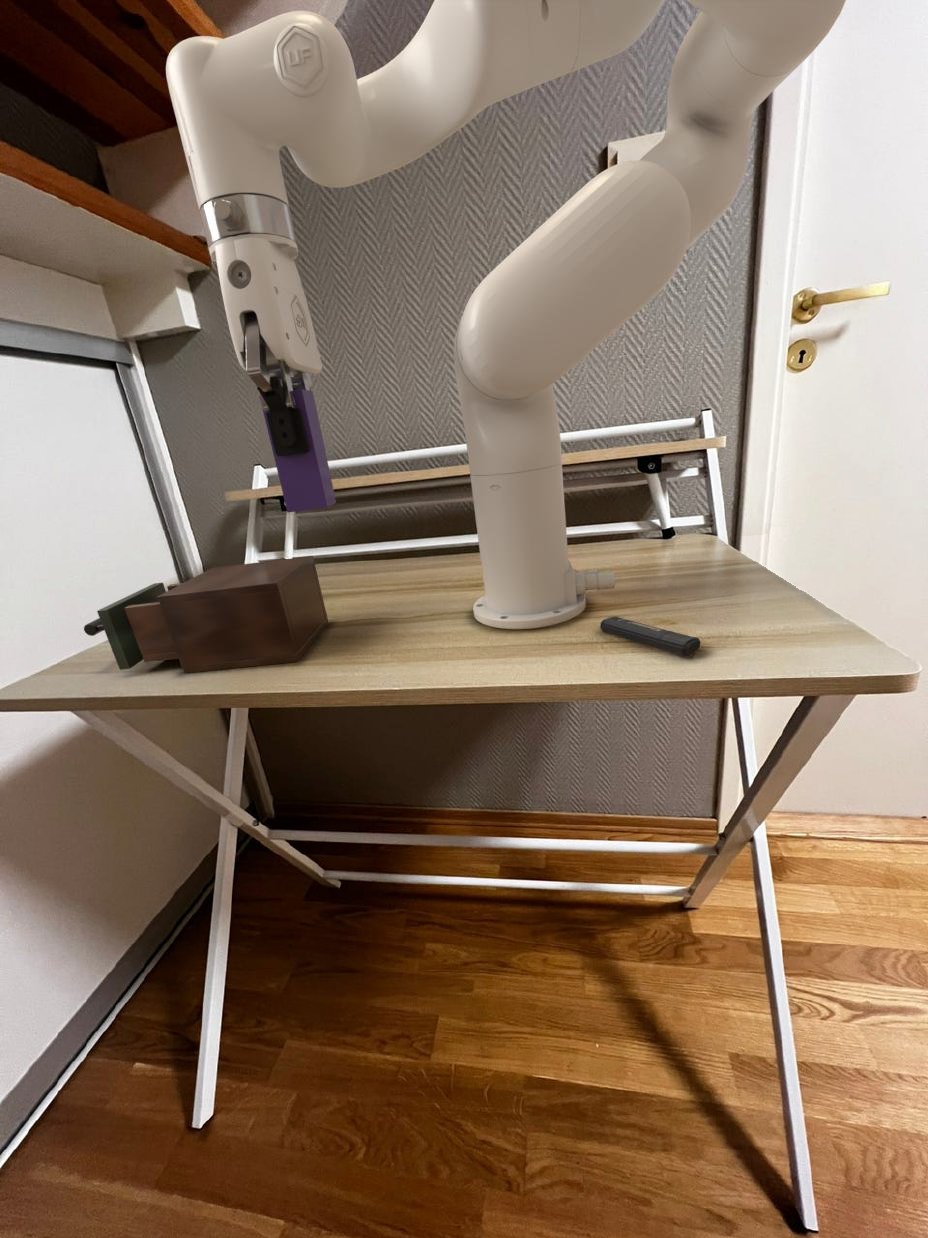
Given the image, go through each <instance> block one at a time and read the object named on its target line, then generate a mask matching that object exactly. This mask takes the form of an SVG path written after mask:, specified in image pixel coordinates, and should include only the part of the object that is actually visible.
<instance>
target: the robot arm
mask: <svg viewBox="0 0 928 1238" xmlns="http://www.w3.org/2000/svg"><path fill="white" fill-rule="evenodd" d="M665 1H666V0H434V1H433V2H432V4H431V7H430V8H429V10H428V13H427V15H426V16H425V18H424V20H423V22H422V23H421V26H420V27H419V28H418V30H417V32H416V33H415V35H414V36H413V37H412V39H411V40H410V41H409V43H408V44H407V45H406V46H405V47H404V48H403V50H402V51H400V52H399V53H398V54H397V55H396V56H395V57H394V58H393V59H391V60H390V61H389V62H388V63H386V64H384V65H382V67H380V68H379V69H376V70H375V71H373V72H371V73H369V74H367V75H364V76H361V77H360V78H358V79H357V74H356V69H355V64H354V60H353V57H352V54H351V50H350V48H349V46H348V44H347V42H346V40H345V38H344V36H343V35H342V33H341V32H340V30H338V28H337V27H336V26H335V25H334V24H333V22H331V21H330V20H329V19H327V18H326V17H324V16H323V15H321V14H318V13H316V12H314V11H309V10H292V11H287V12H284V13H281V14H278V15H276V16H273V17H271V18H269V19H267V20H265V21H262V22H260V23H258V24H256V25H254V26H251V27H249V28H247V29H245V30H243V31H240V32H238V33H236V34H233V35H231V36H228V37H224V38H221V37H217V36H210V35H200V36H192V37H188V38H186V39H183V40H181V41H179V42H178V43H176V45H175V46H174V47H172V48H171V50H170V52H169V53H168V55H167V58H166V62H165V64H166V65H165V77H166V82H167V87H168V91H169V96H170V100H171V104H172V108H173V112H174V116H175V119H176V124H177V127H178V132H179V135H180V140H181V144H182V148H183V153H184V156H185V160H186V164H187V167H188V172H189V176H190V180H191V183H192V187H193V190H194V196H195V199H196V204H197V205H198V210H199V216H200V220H201V223H202V228H203V232H204V237H205V239H206V244H207V248H208V252H209V256H210V259H211V261H212V262H214V263H216V267H217V268H216V269H217V274H218V280H219V284H220V291H221V296H222V302H223V305H224V311H225V315H226V321H227V325H228V329H229V333H230V337H231V340H232V344H233V349H234V352H235V354H236V358H237V360H238V364H239V366H240V367H241V368H242V369H243V370H244V371H245V372H246V373H247V376H248V378H249V379H250V380H251V381H252V382H253V384H254V385H255V387H256V390H257V391H258V393H259V396H260V397H261V401H260V403H261V402H262V405H261V407H262V406H263V409H264V411H265V412H268V413H266V416H267V420H268V424H269V429H270V433H271V437H272V441H273V445H274V449H275V453H276V455H277V456H287V455H294V454H302V453H307V452H308V451H309V445H308V441H307V436H306V432H305V427H304V423H303V418H302V413H301V409H300V408H295V407H296V404H295V398H294V392H293V390H300V389H303V390H309V391H312V390H311V387H312V383H313V381H312V377H311V375H320V373H321V372H322V370H323V363H322V359H321V353H320V350H319V346H318V345H319V344H318V342H317V337H316V333H315V329H314V324H313V321H312V320H313V319H312V316H311V313H310V309H309V304H308V300H307V297H306V294H305V290H304V287H303V284H302V280H301V277H300V274H299V271H298V268H297V265H296V263H295V261H294V260H296V259H297V258H298V257H299V248H298V243H297V237H296V233H295V228H294V223H293V218H292V214H291V213H292V212H291V208H290V205H289V199H288V194H287V189H286V184H285V179H284V175H283V170H282V165H281V159H280V150H281V149H282V148H283V147H287V149H288V152H289V153H290V155H291V158H292V159H293V161H294V163H295V164H296V166H297V167H298V169H299V170H300V172H302V173H303V174H304V176H306V177H307V179H310V180H311V181H312V182H313V183H315V184H317V185H320V186H322V187H326V188H332V189H340V188H347V187H352V186H356V185H359V184H362V183H366V182H368V181H370V180H373V179H375V178H378V177H380V176H383V175H386V174H389V173H391V172H394V171H396V170H398V169H401V168H403V167H405V166H408V165H409V164H411V163H413V162H415V161H416V160H418V159H419V158H421V157H423V156H424V155H426V154H427V153H429V152H430V151H432V150H433V149H435V148H436V147H438V145H440V144H441V143H442V142H444V141H445V140H446V139H448V138H449V137H451V136H452V135H454V134H455V133H457V132H458V131H460V130H461V129H462V128H464V127H465V126H466V125H467V124H469V123H470V122H471V121H472V120H473V119H474V118H476V117H477V116H478V115H479V114H480V113H481V112H483V111H484V110H485V109H487V108H488V107H490V106H492V105H494V104H496V103H499V102H501V101H503V100H506V99H509V98H510V97H513V96H516V95H518V94H521V93H523V92H525V91H527V90H530V89H532V88H535V87H537V86H540V85H543V84H545V83H548V82H550V81H552V80H555V79H557V78H560V77H563V76H566V75H569V74H571V73H574V72H576V71H579V70H581V69H584V68H586V67H589V66H591V65H594V64H596V63H599V62H603V61H605V60H607V59H610V58H612V57H614V56H617V55H619V54H621V53H623V52H624V51H626V50H627V49H629V48H630V47H631V46H633V45H634V44H635V43H636V42H637V41H638V40H639V39H640V38H641V37H642V36H643V35H644V33H646V31H647V30H648V28H650V26H651V24H652V23H653V21H654V20H655V19H656V17H657V15H658V13H659V11H660V9H662V6H663V4H664V2H665ZM685 1H686V2H687V3H689V4H690V5H692V6H693V7H694V8H696V9H698V10H699V11H700V12H699V13H698V15H697V17H696V18H695V19H694V21H693V22H692V25H691V26H690V27H689V29H688V31H687V32H686V34H685V36H684V38H683V40H682V41H681V44H680V46H679V47H678V51H677V52H676V56H675V57H674V61H673V64H672V69H671V73H670V77H669V83H668V88H667V89H668V90H667V100H666V101H667V104H666V105H667V106H666V125H665V130H664V131H665V132H664V133H663V134H664V135H663V137H662V139H661V140H660V141H659V142H658V143H657V144H656V145H654V146H653V147H652V148H650V150H648V151H647V152H646V153H645V154H644V155H643V156H642V157H641V158H640V159H639V160H629V161H623V162H620V163H617V164H614V165H612V166H610V167H608V168H606V169H604V170H603V171H601V172H599V173H598V174H597V175H596V176H594V177H593V178H592V179H591V180H589V181H587V183H586V184H585V185H584V186H582V187H581V188H580V189H579V190H578V191H577V192H576V193H575V194H573V196H571V197H570V198H569V199H568V200H567V201H566V202H565V203H564V204H563V205H562V206H560V207H559V208H558V209H557V210H556V211H555V212H554V213H553V214H552V215H550V217H548V219H546V220H545V221H544V222H543V223H542V224H541V225H540V226H539V227H538V228H537V229H535V231H533V232H532V233H531V234H530V235H529V236H528V237H527V238H526V239H525V240H524V241H523V242H522V243H520V244H519V245H518V246H517V247H516V248H515V249H514V250H513V251H511V253H509V254H508V255H507V256H506V257H505V258H504V259H503V260H502V261H501V262H500V263H499V264H497V266H496V267H494V268H493V269H492V270H491V271H490V272H489V273H488V274H487V275H486V276H485V277H484V278H483V279H482V281H481V282H480V283H479V284H478V285H477V286H476V288H475V289H474V291H473V293H471V295H470V297H469V299H468V301H467V303H466V305H465V307H464V310H463V313H462V314H461V317H460V319H459V322H458V324H457V328H456V331H455V335H454V342H453V369H454V376H455V383H456V388H457V393H458V399H459V405H460V410H461V417H462V423H463V428H464V430H463V431H464V437H465V443H466V451H467V459H468V468H469V477H470V485H471V493H472V501H473V509H474V516H475V517H474V519H475V525H476V533H477V540H478V549H479V557H480V564H481V565H480V566H481V573H482V580H483V590H484V595H483V596H481V597H479V598H478V599H477V600H476V601H475V602H474V604H473V606H472V610H473V617H474V619H475V620H476V621H477V622H479V623H481V624H482V625H485V626H488V627H491V628H497V629H504V630H528V629H529V630H530V629H531V630H532V629H539V628H544V627H551V626H555V625H558V624H561V623H565V622H566V621H570V620H572V619H574V618H576V617H577V616H579V615H580V614H581V613H582V612H584V610H585V609H586V606H587V603H586V602H587V600H586V591H592V590H597V591H603V590H611V589H615V588H616V577H615V573H614V570H606V571H599V569H598V568H591V569H590V568H589V569H585V570H577V569H576V568H574V567H573V565H572V563H571V562H570V560H569V550H568V547H569V546H568V535H567V519H566V506H565V505H566V504H565V492H564V491H565V490H564V476H563V452H562V440H561V431H560V429H561V428H560V421H559V415H558V408H557V402H556V397H555V392H554V391H555V390H554V385H553V384H554V383H556V382H557V381H558V380H559V379H561V378H562V377H564V375H566V374H567V373H568V372H569V371H571V370H572V369H573V368H574V367H575V366H576V365H578V364H579V363H580V362H581V361H583V359H585V358H586V357H587V356H588V355H590V354H591V353H592V352H593V351H594V350H595V349H597V348H598V347H599V346H601V344H603V343H604V342H605V341H606V340H607V339H609V337H611V336H612V335H613V334H614V333H615V332H616V331H618V330H619V329H620V328H621V327H622V326H624V325H625V324H626V323H627V322H628V321H629V320H630V319H632V318H633V317H634V316H635V315H637V313H639V312H640V311H641V310H642V309H643V308H645V306H647V305H648V304H649V303H651V302H652V300H653V299H655V298H656V297H657V296H658V295H659V294H660V293H661V292H662V291H663V290H664V289H665V287H666V286H667V285H668V284H669V282H671V280H672V279H673V277H674V276H675V275H676V273H677V271H678V270H679V268H680V265H681V264H682V262H683V260H684V257H685V255H686V252H687V250H688V249H690V247H691V246H692V245H694V244H695V243H696V242H697V241H698V240H699V239H700V238H701V237H702V236H703V235H704V234H705V233H706V232H707V231H708V230H709V229H711V228H712V227H713V226H714V225H715V224H716V223H718V221H719V220H720V218H722V217H723V216H724V214H725V213H726V212H727V211H728V210H729V208H730V207H731V205H732V204H733V202H734V201H735V199H736V198H737V196H738V194H739V192H740V190H741V187H742V184H743V182H744V179H745V175H746V171H747V167H748V161H749V155H750V148H751V133H752V123H753V118H754V114H755V111H756V109H757V108H758V107H759V106H760V105H761V104H762V103H763V102H764V101H765V100H766V99H767V98H768V97H769V96H770V95H771V94H772V93H773V92H774V90H776V89H777V88H778V87H779V86H780V85H781V84H782V83H783V82H784V81H785V80H786V79H787V78H788V77H789V76H790V75H791V74H792V73H793V72H794V71H795V70H797V69H798V67H800V66H801V64H803V62H805V60H806V59H808V57H809V56H811V54H812V53H814V51H815V50H816V49H817V48H818V47H819V45H820V44H821V43H822V41H824V39H825V38H826V37H827V36H828V35H829V33H830V31H831V30H832V28H833V27H834V25H835V23H836V22H837V20H838V18H839V17H840V15H841V13H842V10H843V9H844V5H845V4H846V1H847V0H685ZM291 372H292V373H293V376H292V375H291ZM310 374H311V375H310ZM260 397H259V398H260ZM293 408H295V409H293ZM263 409H262V410H263Z"/></svg>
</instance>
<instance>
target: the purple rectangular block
mask: <svg viewBox="0 0 928 1238" xmlns="http://www.w3.org/2000/svg"><path fill="white" fill-rule="evenodd" d="M293 392H294V398H295V404H296V407H295V408H300V409H301V413H302V418H303V423H304V427H305V432H306V436H307V441H308V445H309V451H308V452H307V453H302V454H294V455H287V456H277V455H276V453H275V449H274V445H273V441H272V437H271V433H270V429H269V424H268V420H267V416H266V413H268V412H265V411H264V409H263V406H262V402H261V397H260V395H259V397H258V398H259V401H260V405H261V409H262V413H263V417H264V421H265V422H264V423H265V426H266V428H267V429H266V430H267V433H268V437H269V438H268V439H269V442H270V446H271V450H272V455H273V458H274V463H275V466H276V467H275V468H276V470H277V476H278V480H279V484H280V488H281V492H282V495H283V496H282V497H283V498H284V504H285V507H286V512H287V513H295V512H302V511H311V510H317V509H319V510H320V509H325V508H326V509H327V508H329V507H331V506H333V505H335V504H337V500H336V494H335V490H334V485H333V481H332V477H331V471H330V467H329V462H328V457H327V456H328V455H327V453H326V447H325V442H324V437H323V433H322V429H321V424H320V419H319V414H318V410H317V405H316V400H315V395H314V391H313V390H311V391H309V390H303V389H300V390H293ZM295 408H293V409H295Z"/></svg>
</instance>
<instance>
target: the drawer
mask: <svg viewBox="0 0 928 1238" xmlns="http://www.w3.org/2000/svg"><path fill="white" fill-rule="evenodd" d="M183 583H184V582H180V583H179V582H178V583H172V584H168V585H167V586H166V587H165V585H164V582H155V583H152V584H150V585H148V586H146V587H144V588H142V589H140V590H137V591H136V592H133V593H131V594H129V595H127V596H125V597H122V598H120V599H119V600H116V601H115V602H113V603H111V604H109V605H106V606H104V607H102V608H100V609H98V610H96V612H97V615H98V618H96V619H94V620H92V621H90V622H89V623H86V624H85V625H84V627H83V631H84V633H85V634H86V635H87V636H90V637H93V636H94V637H95V636H96V635H98V634H100V633H102V632H104V633H105V636H106V639H107V641H108V642H109V645H110V649H111V651H112V654H113V657H114V658H115V662H116V663H117V666H118V669H119V670H120V671H121V670H122V671H123V670H130V669H132V668H134V666H136V665H138V664H139V663H140V662H142V661H144V663H151V662H159V661H161V662H162V661H168V660H169V661H170V660H177V659H178V660H179V658H178V655H177V652H176V649H175V646H174V644H173V641H172V638H171V635H170V632H169V629H168V626H167V623H166V620H165V617H164V615H163V612H162V609H161V606H160V603H159V600H158V596H160V595H162V594H163V593H165V592H167V591H169V590H171V589H173V588H175V587H177V586H179V585H181V584H183ZM166 588H167V589H166Z"/></svg>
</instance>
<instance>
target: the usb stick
mask: <svg viewBox="0 0 928 1238" xmlns="http://www.w3.org/2000/svg"><path fill="white" fill-rule="evenodd" d="M599 627H600V630H601V632H602V633H604V634H608V635H611V636H614V637H617V638H621V639H623V640H626V641H631V642H633V643H637V644H640V645H643V646H647V647H650V648H654V649H657V650H658V651H664V652H667V653H668V654H669V653H670V654H673V655H677V656H680V657H683V658H685V657H686V658H687V657H691V656H693V654H695V653H697V652H698V651H699V649H700V648H701V639H700V638H699V637H696V636H691V635H688V634H684V633H680V632H676V631H673V630H667V629H664V628H660V627H656V626H653V625H650V624H646V623H641V622H638V621H634V620H630V619H626V618H624V617H619V616H616V615H615V616H610V617H607V618H604V619H602V621H600V625H599Z"/></svg>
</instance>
